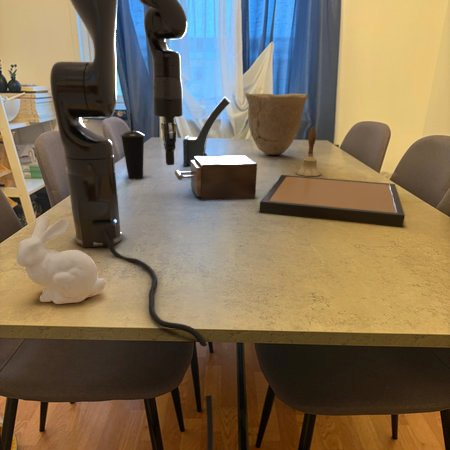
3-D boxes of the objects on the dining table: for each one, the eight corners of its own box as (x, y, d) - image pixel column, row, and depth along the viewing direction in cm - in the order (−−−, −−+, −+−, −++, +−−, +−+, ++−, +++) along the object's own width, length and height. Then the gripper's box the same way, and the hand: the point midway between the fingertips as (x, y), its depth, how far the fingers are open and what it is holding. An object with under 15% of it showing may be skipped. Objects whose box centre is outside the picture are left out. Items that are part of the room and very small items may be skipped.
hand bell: (296, 175, 155) (300, 128, 147) (298, 171, 162) (302, 125, 154) (319, 177, 153) (325, 129, 145) (320, 172, 160) (326, 126, 153)
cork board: (402, 226, 105) (393, 193, 135) (404, 215, 103) (394, 183, 134) (259, 212, 113) (280, 183, 143) (259, 201, 111) (281, 174, 142)
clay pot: (233, 150, 200) (235, 91, 189) (288, 149, 208) (293, 91, 196) (255, 161, 177) (258, 94, 166) (315, 159, 185) (323, 95, 173)
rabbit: (21, 305, 66) (4, 230, 60) (44, 279, 74) (31, 211, 69) (100, 307, 66) (90, 232, 60) (114, 281, 74) (107, 213, 69)
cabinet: (201, 200, 122) (201, 164, 117) (194, 189, 133) (194, 156, 128) (255, 198, 125) (257, 163, 121) (243, 188, 136) (245, 155, 132)
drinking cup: (119, 178, 144) (113, 113, 135) (133, 174, 150) (129, 111, 141) (137, 181, 141) (133, 114, 132) (151, 176, 147) (148, 113, 138)
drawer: (178, 197, 121) (178, 168, 117) (174, 187, 131) (173, 160, 127) (246, 194, 125) (248, 166, 121) (237, 185, 135) (238, 159, 131)
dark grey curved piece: (228, 168, 163) (229, 97, 152) (182, 166, 164) (181, 96, 153) (229, 163, 173) (231, 96, 161) (186, 161, 174) (185, 94, 162)
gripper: (152, 95, 118) (155, 160, 126) (155, 97, 107) (158, 169, 115) (179, 95, 120) (180, 160, 128) (185, 97, 108) (186, 168, 116)
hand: (170, 164), depth 121 cm, fingers closed
